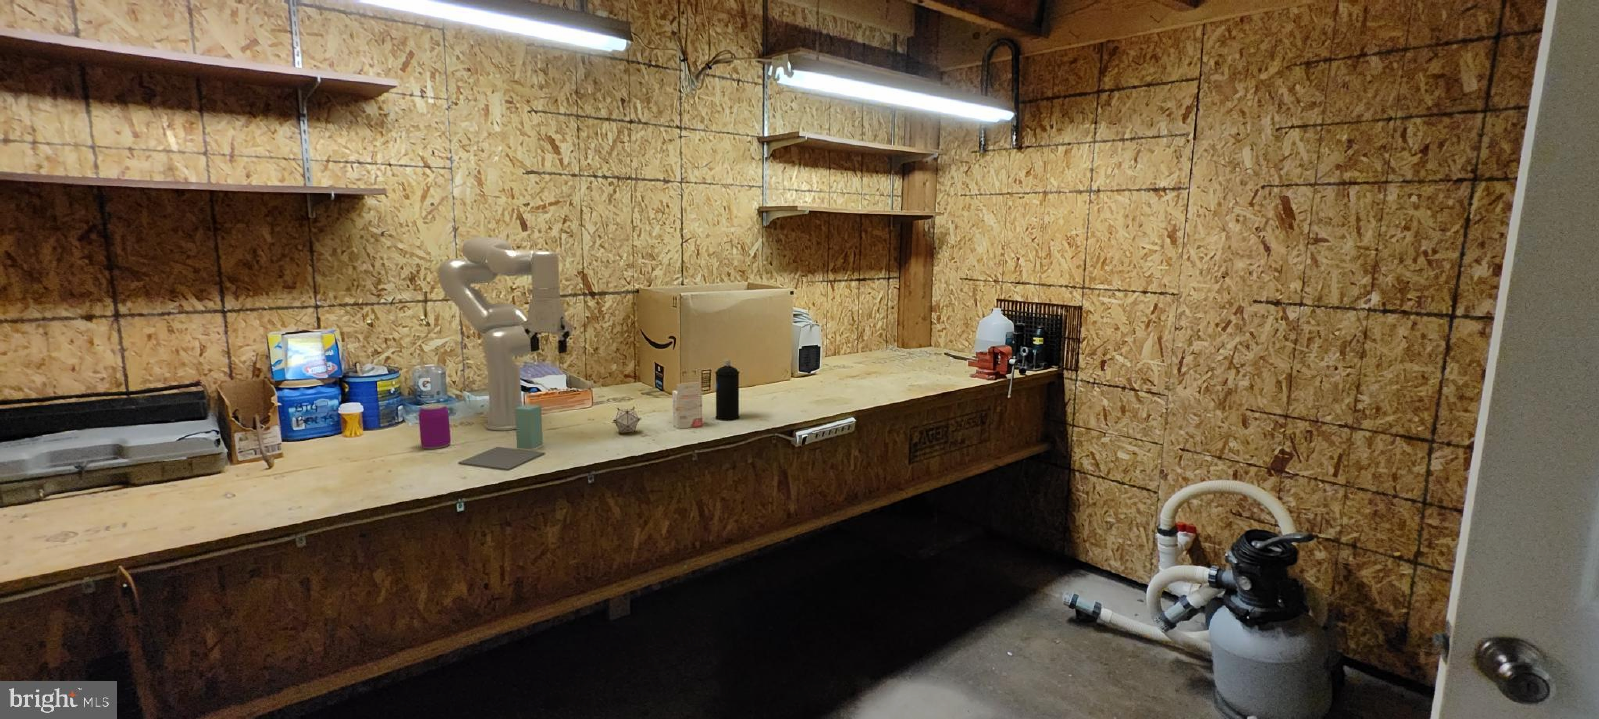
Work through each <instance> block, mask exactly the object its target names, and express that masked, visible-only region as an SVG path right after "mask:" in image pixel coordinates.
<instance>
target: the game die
mask: <svg viewBox="0 0 1599 719" xmlns="http://www.w3.org/2000/svg"><path fill="white" fill-rule="evenodd" d="M615 416H616V417H615V419H613V421H612V424H615V426H616V427H617V429H618V431H619V432H618V435H621V433H631V432H633V433H634V434H637V431H636V429H637V425H638V423H639V422H640V420H642V417H639V416H638V414H637V413H636V411H635V406H633V407H632V408H625V409H623V408H622V409H620V408H619V407H617V413H616V415H615Z"/></svg>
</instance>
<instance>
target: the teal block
mask: <svg viewBox="0 0 1599 719" xmlns="http://www.w3.org/2000/svg"><path fill="white" fill-rule="evenodd" d="M515 421H516V429H515V433H516V434H515V435H516V449H520V450H529V451H536V450H537V449H539V448H542V447H543V446H544V439H543V418H542V406H541V405H535V404H528V403H527V404H524V405H523V404H522V406H520V407H517V408H515Z"/></svg>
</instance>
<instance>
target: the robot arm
mask: <svg viewBox="0 0 1599 719" xmlns="http://www.w3.org/2000/svg"><path fill="white" fill-rule="evenodd" d="M461 252H462V255H463V257H457V258H451V259H447V260H444V261H442V262H441V264H439V266H438V268H437V277H438V281H439V282H438V283H439V285H440V288H441V289H442V291H443V293H444V294H445V296H447V298H449V300H451V302H452V303H454V305H455V306H457V308H459V310H460V312H461V313H462V314H463V316H464V317H465V318H466V320H467V322H469V324H470V325H471V326H472V328H473V329H474V330H475V331H476V332H477V333H478V334H481V335H482V338H481V346H482V347H481V348H482V350H483V354H484V358H485V362H486V371H487V372H486V373H487V382H488V383H487V384H488V385H487V387H488V401H489V402H488V403H489V410H484V411H483V413H482V414H481V418H482V419H487V422H485V425H484V426H485V428H486V429H487V430H491V431H511V430H516V421H515V408H517V407H520V406H523V403H522V384H521V372H520V367H519V366H518V364H517V363H516V362H515V360H514V359H513V357H519V356H525V355H531V354H533V353H536V351H540V350H541V349H540V346H541V345H540V344H541V338H540V336H539V334H540V333H541V334H556V335H557V337H558V340H557V347H558V348H557V350H558V354H559V355H561V354H565V353H567V352H568V351H567V350H568V342H567V341H568V340H569V337H570V336H571V335H572V333H573V331H574V328H575V324H573V323H572V322H570V321H568V320H566V314H565V307H564V303H563V300H562V298H561V292H560V273H559V256H558V253H556V251H551V250H541V249H512V246H511V243H509V241H507V240H506V239H505V238H503V237H496V236H494V237H491V236H488V237H486V236H477V237H471V238H469V239H467V240H466V241H465V242H464V243H463V244H462V246H461ZM499 275H501V276H506V277H520V276H522V277H525V276H531V289H529V293H530V294H531V295H532V297H531V298H529V303H528V315H527V316H526V315H525V313H524V312H523V311H522V309H521V308H520V307H519V306H517V305H515V304H513V303H507V302H503V303H492V302H490V301H489V300H488V299H487V298H486V296H485V295H484V294H483V293H482V292H481V291H480V290H479V289H477V288H476V287H473V286H471V285H480V284H489V283H492V282H494V281H495V280H496V278H498V276H499ZM565 330H566V331H565Z"/></svg>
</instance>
